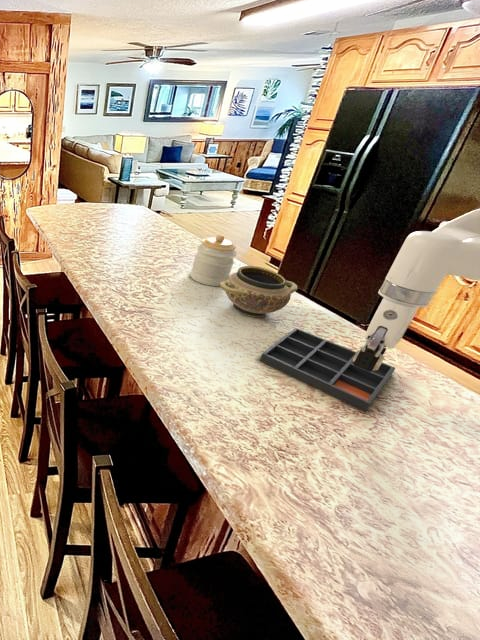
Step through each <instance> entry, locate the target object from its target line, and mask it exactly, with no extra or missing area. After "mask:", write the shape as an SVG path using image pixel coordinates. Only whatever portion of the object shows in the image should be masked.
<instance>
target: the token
mask: <svg viewBox="0 0 480 640" xmlns="http://www.w3.org/2000/svg"><path fill="white" fill-rule="evenodd" d="M361 349H363V347H359V348H358V349H357V351H356V352H357V353H356V355H355V356H354V358H353V362H354V361H355V360H356V358H357V356H358V354H359V352H360V350H361ZM379 357H380V358H379V360H378V361H377V363H376V365H375V367H374V368H373V371H375V370H378V368H379V367H380V365H381V363H383V361H384V360H385V356H384V354H383V355H382V354H380V355H379Z"/></svg>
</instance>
